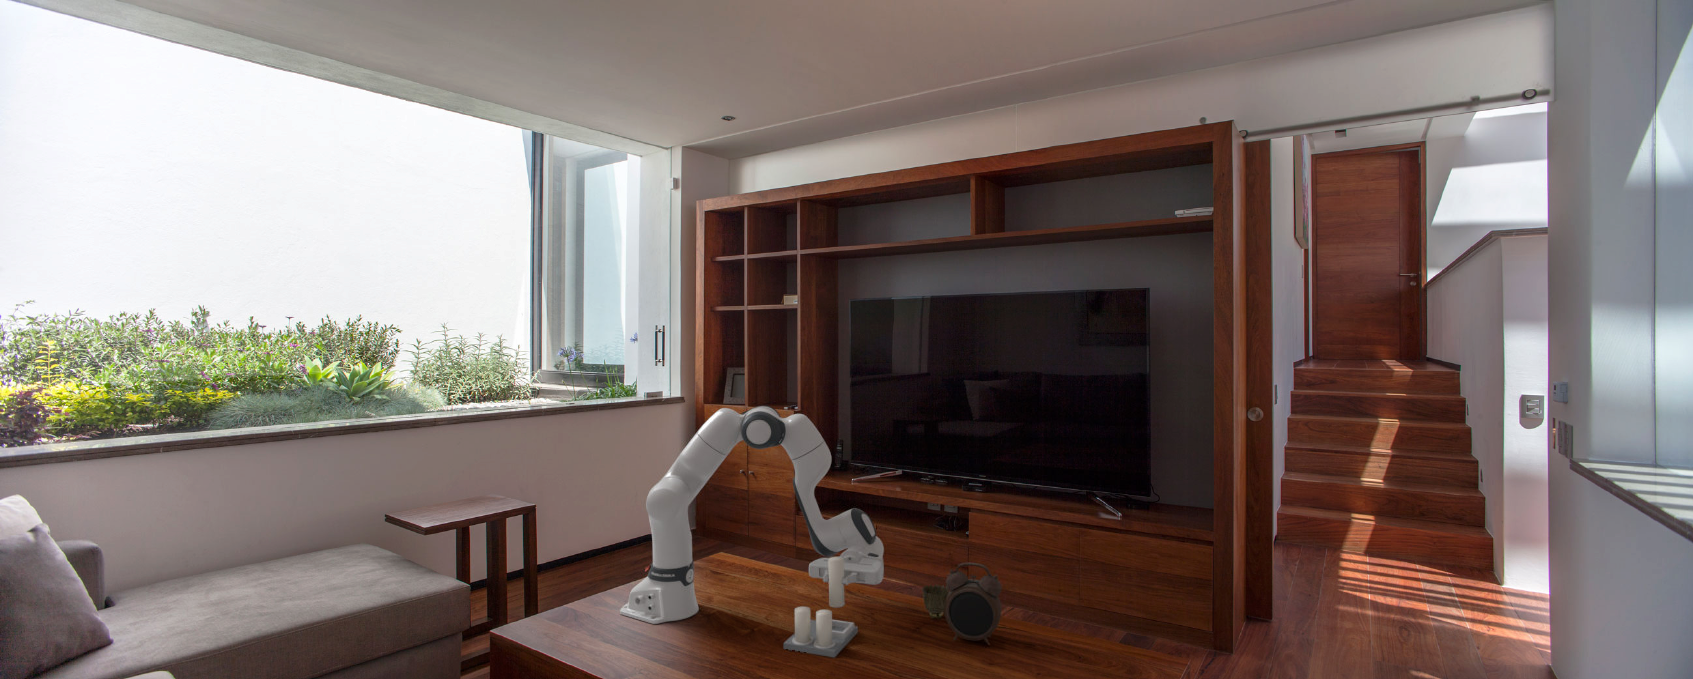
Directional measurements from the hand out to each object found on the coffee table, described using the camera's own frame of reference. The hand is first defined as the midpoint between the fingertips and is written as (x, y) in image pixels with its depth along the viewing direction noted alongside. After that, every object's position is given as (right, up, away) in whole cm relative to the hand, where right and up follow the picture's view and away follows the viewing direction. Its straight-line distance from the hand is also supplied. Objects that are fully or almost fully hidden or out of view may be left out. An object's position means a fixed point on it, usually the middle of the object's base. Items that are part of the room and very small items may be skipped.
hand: (835, 580), depth 190 cm
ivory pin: (0, -7, +1) cm, 7 cm away
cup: (+28, -15, +14) cm, 35 cm away
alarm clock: (+36, -15, -2) cm, 39 cm away
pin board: (-3, -15, -1) cm, 16 cm away
